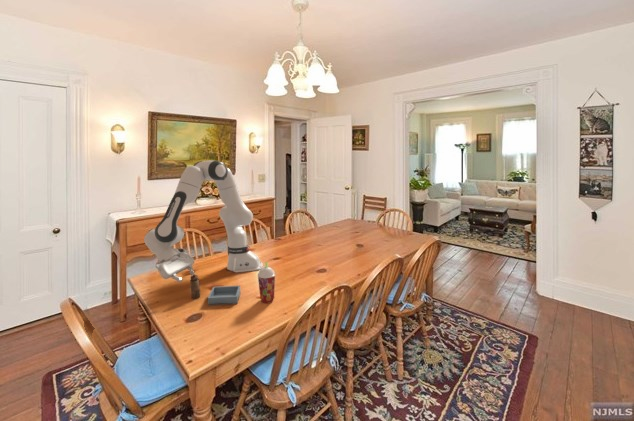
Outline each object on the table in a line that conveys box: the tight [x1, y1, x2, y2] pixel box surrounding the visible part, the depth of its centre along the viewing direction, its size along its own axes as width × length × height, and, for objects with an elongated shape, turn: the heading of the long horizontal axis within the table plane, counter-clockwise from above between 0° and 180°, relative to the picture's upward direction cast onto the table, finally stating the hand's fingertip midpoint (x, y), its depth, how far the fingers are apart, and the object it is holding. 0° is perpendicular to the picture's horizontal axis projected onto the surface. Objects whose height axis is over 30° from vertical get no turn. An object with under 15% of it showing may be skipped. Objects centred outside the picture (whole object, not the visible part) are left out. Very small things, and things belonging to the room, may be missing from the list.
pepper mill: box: [189, 273, 201, 300], centre depth 157 cm, size 4×4×12 cm
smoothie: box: [257, 261, 276, 304], centre depth 152 cm, size 8×8×20 cm
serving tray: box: [207, 285, 242, 306], centre depth 156 cm, size 14×13×4 cm
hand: (187, 277), depth 157 cm, fingers open, 8 cm apart
